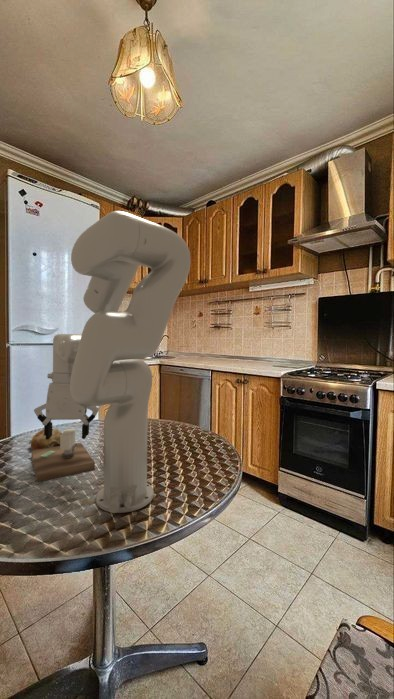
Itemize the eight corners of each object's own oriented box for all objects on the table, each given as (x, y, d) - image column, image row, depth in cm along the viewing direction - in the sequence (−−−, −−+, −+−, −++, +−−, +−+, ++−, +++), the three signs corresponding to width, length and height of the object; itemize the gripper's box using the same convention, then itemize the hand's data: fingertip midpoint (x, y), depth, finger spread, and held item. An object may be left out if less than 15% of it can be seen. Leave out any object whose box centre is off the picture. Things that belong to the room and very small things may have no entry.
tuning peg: (70, 460, 82) (70, 435, 82) (58, 461, 82) (58, 435, 82) (81, 446, 93) (81, 423, 93) (70, 446, 93) (70, 424, 92)
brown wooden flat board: (94, 469, 82) (94, 462, 82) (36, 481, 74) (36, 474, 74) (80, 448, 97) (80, 442, 97) (31, 457, 90) (31, 450, 90)
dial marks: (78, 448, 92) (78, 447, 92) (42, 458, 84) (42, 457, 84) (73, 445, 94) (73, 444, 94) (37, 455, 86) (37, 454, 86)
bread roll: (42, 466, 92) (51, 444, 91) (19, 448, 95) (27, 426, 94) (66, 454, 101) (74, 434, 100) (44, 438, 104) (52, 418, 103)
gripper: (29, 379, 79) (28, 442, 80) (96, 380, 82) (95, 442, 83) (40, 375, 87) (39, 433, 88) (101, 376, 89) (100, 432, 90)
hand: (66, 437), depth 85 cm, fingers open, 9 cm apart
